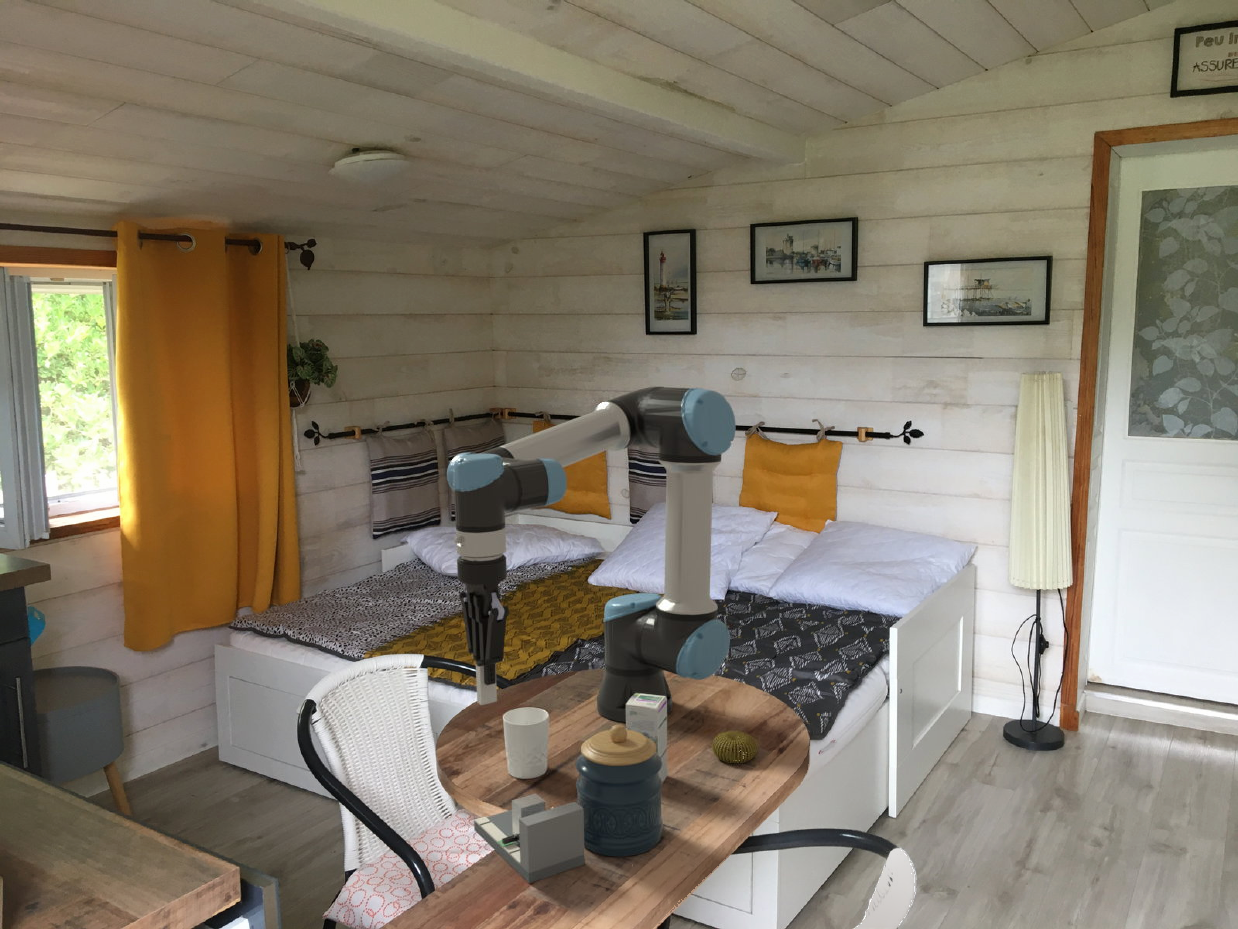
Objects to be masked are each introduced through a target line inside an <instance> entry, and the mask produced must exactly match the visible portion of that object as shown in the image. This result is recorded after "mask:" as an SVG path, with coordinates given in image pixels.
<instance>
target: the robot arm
mask: <svg viewBox="0 0 1238 929" xmlns="http://www.w3.org/2000/svg"><path fill="white" fill-rule="evenodd" d="M735 436H736V417H735V414H734V410H733V408H732V406H731V404H730V402H729V401H728V400H727V399H726V397H725V396H724V395H723V394H721V393H720V392H717V391H715V390H711V389H707V388H706V389H705V388H702V387H667V386H666V387H665V386H651V387H643V388H641V389H637V390H634V391H630V392H628V393H625V394H622V395H619V396H617V397H614V398H611V399H609V400H606V401H603V402H601V403H599V404H598V405H597V406H596V407H595V409H594V411H591V412H590V413H587V414H584V415H581V416H579V417H576V418H572V419H571V420H568V421H566V422H565V421H564V422H563V423H559V424H557V425H555V426H554V425H553V426H551V427H548V428H546V429H543V430H541V431H537V432H534V433H532V434H530V435H527V436H525V437H522V438H519V439H516V440H514V441H511V442H508V443H506V444H505V443H504V444H503V445H500V446H497V447H494V448H491V449H488V450H485V451H482V452H479V453H477V452H474V451H473V452H472V451H469V452H462V453H458V454H457V455H455V456H454V457H453V458H452V460H450V462H449V463H448V467H447V470H446V477H447V478H446V480H447V483H448V486H449V488H450V489H451V490H452V492H453V497H454V498H453V500H454V514H455V516H454V517H455V520H454V521H455V532H456V533H455V534H456V535H455V536H456V537H454V539H453V542H454V543H455V544H456V554H457V555H459V556H458V558H457V559H456V564H457V565H456V567H457V569H456V570H457V580H458V581H459V582H460V583H462V584H464V585H465V586H466V590H464V591H460V592H459V594H458V595H459V600H460V604H461V608H462V614H463V621H464V629H465V636H466V643H467V650H468V653H469V654H470V655H472V658H473V660H474V662H475V677H476V678H475V680H476V682H475V683H476V702H477V704H479V705H480V706H484V705H488V704H492V703H495V702H496V703H497V702H498V696H497V694H498V691H497V669H496V668H497V665H496V664H497V663H502V662H503V661H504V653H505V651H504V650H505V639H506V627H507V619H508V616H509V613H510V609H509V606H508V605H505V606H503V605H502V603H501V593H500V587H499V584H500V583H501V582H504V581H505V580H506V579H507V576H508V571H507V570H508V568H507V557H506V555H505V554H504V553H506V551H507V539H506V538H507V535H506V533H507V532H506V513H512V512H518V511H523V510H530V509H534V508H546V507H548V506H549V505H553V504H556V503H558V502H560V501H562V499H564V497H565V494H566V493H567V489H568V488H567V487H568V481H567V474H566V471H565V469H564V468H565V467H568V466H571V465H573V464H575V463H578V462H580V461H583V460H585V459H589V458H590V457H593V456H594V455H598V454H600V453H603V452H605V451H607V450H610V451H613V452H620V451H622V450H625V449H627V448H633V447H634V448H635V447H645V448H646V447H647V448H655V449H658V462H659V464H661V466H663V467H664V469H665V470H666V477H665V478H666V482H665V483H666V484H665V485H666V487H665V488H666V490H665V491H666V492H665V495H666V496H665V538H664V541H665V542H664V543H665V544H664V588H663V589H664V591H663V593H664V594H663V596H662V595H660V594H659V593H652V592H650V593H649V592H643V593H642V592H641V593H640V592H639V593H631V594H629V593H628V594H624V595H619V596H617V597H616V596H615V597H613V598H611V599H609V600H608V601H607V602H606V603H605V605H604V611H603V612H604V614H603V616H604V618H603V636H604V637H603V639H604V640H603V642H604V643H603V644H604V674H603V678H602V681H601V684H600V687H599V691H598V694H597V696H596V710H597V713H598V714H599V715H601V716H602V717H604V718H605V719H607V720H612V721H617V722H622V723H626V703H627V702H628V701H629V699H630V698H631V697H632V696H633V695H634V694H635V693H640V694H650V695H659V696H666V698H667V716H668V715H669V714H671V712H672V710H673V696H672V692H671V690H670V687H669V684H668V681H667V677H666V676H665V672H668V673H671V674H673V675H678V676H679V677H681V678H685V679H687V678H688V679H693V680H697V681H698V680H699V681H701V680H706V679H707V678H708V679H709V678H710V677H712V676H713V675H714V674H715V673H716V672H717V671H718V670H720V667H721V666H722V665H723V664H724V662H725V659H726V658H727V655H728V652H729V649H730V645H731V644H730V643H731V635H730V630H729V628H728V627H727V625H726V624H725V623H724V622H723V621H721V620H720V619H718V607H719V606H718V604H717V603H716V601H714V600H713V599H712V598H711V568H712V567H711V566H712V564H711V563H712V562H711V561H712V559H711V557H712V521H713V520H712V519H713V518H712V517H713V478H714V474H713V473H714V470H715V469H716V468H717V467H718V466H719V465H720V464H721V463H722V454H724V453H725V452H727V451H728V450H729V449H730V447H732V442H733V441H734V439H735Z"/></svg>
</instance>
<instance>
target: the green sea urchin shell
mask: <svg viewBox="0 0 1238 929" xmlns="http://www.w3.org/2000/svg"><path fill="white" fill-rule="evenodd" d="M711 748H712V749H711V750H712V752H713V754H714V756H715V757H716V758H717V759H719V760H720V761H722V762H724V763H729V764H744V763H747V762H748V761H751V760H752V759H753V758H755V756H756V754H757V753H758V744H757V741H756V739H755V738H754V737H753V736H752V735H751V734H749V733H746V732H743V731H741V730H726V731H723V732H721V733H718V734H717V735H716V736H715V737H714V738H713V741H712V744H711ZM740 750H741V751H740ZM739 751H740V752H739ZM743 752H744V754H745V755H743ZM746 752H747V753H746ZM743 756H744V759H743ZM733 760H734V761H733ZM735 760H737V761H735ZM739 760H740V761H739ZM743 762H744V763H743Z"/></svg>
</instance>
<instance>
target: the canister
mask: <svg viewBox="0 0 1238 929" xmlns="http://www.w3.org/2000/svg"><path fill="white" fill-rule="evenodd" d="M580 752H581V754H580V755H579V756H578V757H577V759H576V760H575V769H576V770H577V772H578V774H579V775H578V778H577V780H576V782H575V788H576V790H577V791H576V792H577V793H576V794H577V795H576V796H577V804H578V805H580V806H581V807H582V808H584V848H585V849H587V850H589V851H590V852H592V853H596V854H598V855H603V856H606V857H607V856H608V857H629V856H630V857H631V856H636V855H640V854H643V853H646V852H647V851H648V852H649V851H650V850H651V849H653V848H655V846H656V845H658V843H659V842H660V841H661V837H662V832H663V828H664V827H663V822H664V820H663V817H662V788H663V783H662V780H661V778H660V777H659V771H660V769H661V767H662V760H661V758H660V757H659V755H658V754H657V753H655V752H656V745H655V743H654V742H653V741H652V740H651V739H649V738H647V737H645V736H644V735H643V734H641V733H639V732H636V731H633V730H627V729H626V726H624V725H622V724H615V725H612V727H611V728H610V729H606V730H603V731H600V732H598V733H597V732H596V734H594V735H593V736H591V737H590V738H588V739H586V740H585V741H584V742H583V743H582V744H581V746H580Z"/></svg>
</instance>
